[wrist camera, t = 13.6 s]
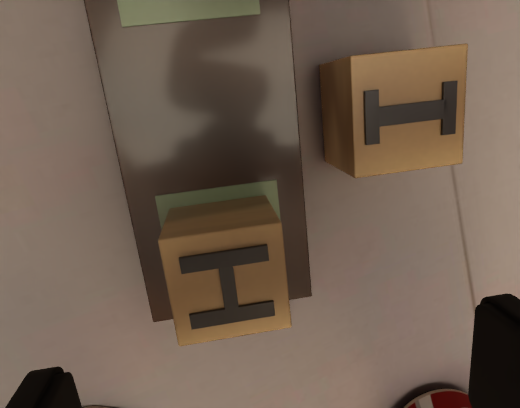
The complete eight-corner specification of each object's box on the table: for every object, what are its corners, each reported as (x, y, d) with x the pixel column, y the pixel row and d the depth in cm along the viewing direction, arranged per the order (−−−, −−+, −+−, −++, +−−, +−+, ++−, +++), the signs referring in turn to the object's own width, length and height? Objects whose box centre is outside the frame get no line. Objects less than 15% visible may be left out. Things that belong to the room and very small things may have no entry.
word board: (56, -153, 16) (46, -170, 15) (271, -163, 16) (275, -181, 15) (155, 312, 22) (153, 323, 21) (307, 288, 23) (312, 297, 22)
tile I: (318, 64, 19) (351, 55, 15) (412, 54, 20) (470, 42, 15) (324, 161, 21) (356, 179, 16) (411, 150, 21) (465, 164, 17)
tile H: (168, 207, 19) (156, 241, 15) (266, 194, 20) (282, 223, 15) (184, 295, 21) (178, 349, 16) (275, 280, 21) (292, 330, 17)
